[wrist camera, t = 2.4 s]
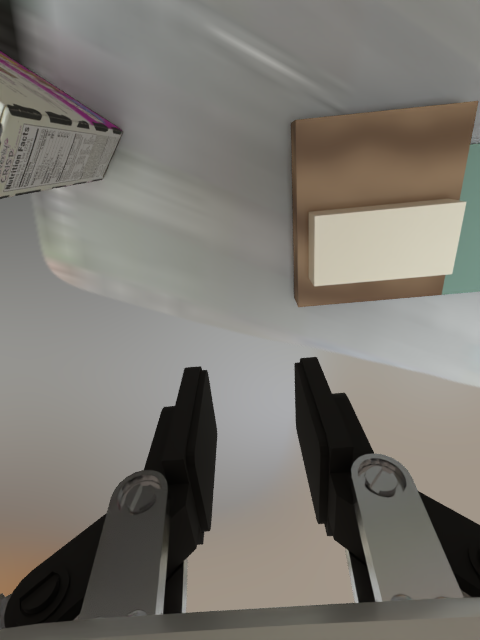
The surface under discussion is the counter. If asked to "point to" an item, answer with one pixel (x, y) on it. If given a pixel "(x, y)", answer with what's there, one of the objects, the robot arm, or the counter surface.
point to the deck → (374, 181)
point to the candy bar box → (47, 135)
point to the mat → (468, 232)
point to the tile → (384, 241)
